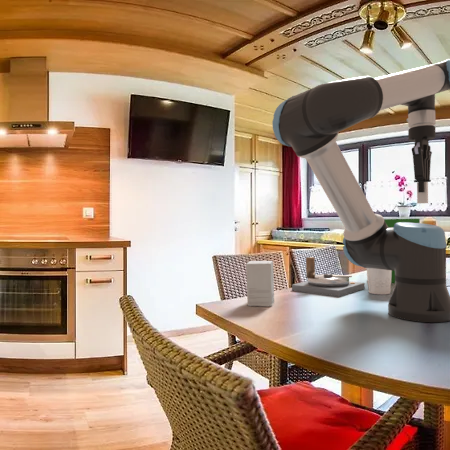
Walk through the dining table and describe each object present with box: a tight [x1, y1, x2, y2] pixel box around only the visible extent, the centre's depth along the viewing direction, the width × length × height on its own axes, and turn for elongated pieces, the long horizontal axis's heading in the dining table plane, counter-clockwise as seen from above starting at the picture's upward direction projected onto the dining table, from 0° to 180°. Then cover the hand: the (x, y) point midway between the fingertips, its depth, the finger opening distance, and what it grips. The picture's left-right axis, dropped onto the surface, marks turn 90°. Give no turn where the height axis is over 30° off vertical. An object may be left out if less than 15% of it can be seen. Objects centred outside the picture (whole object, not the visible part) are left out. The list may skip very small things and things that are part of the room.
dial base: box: [291, 280, 366, 298], centre depth 136 cm, size 18×18×2 cm
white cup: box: [366, 268, 392, 295], centre depth 129 cm, size 8×8×10 cm
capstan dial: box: [305, 256, 353, 286], centre depth 136 cm, size 16×14×9 cm
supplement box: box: [245, 260, 275, 307], centre depth 116 cm, size 7×7×13 cm
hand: (422, 203), depth 121 cm, fingers closed
